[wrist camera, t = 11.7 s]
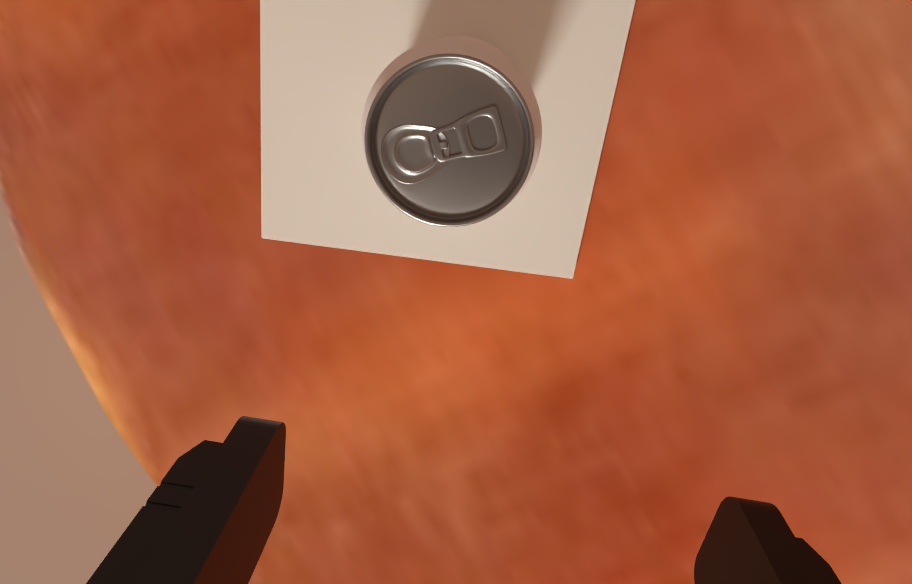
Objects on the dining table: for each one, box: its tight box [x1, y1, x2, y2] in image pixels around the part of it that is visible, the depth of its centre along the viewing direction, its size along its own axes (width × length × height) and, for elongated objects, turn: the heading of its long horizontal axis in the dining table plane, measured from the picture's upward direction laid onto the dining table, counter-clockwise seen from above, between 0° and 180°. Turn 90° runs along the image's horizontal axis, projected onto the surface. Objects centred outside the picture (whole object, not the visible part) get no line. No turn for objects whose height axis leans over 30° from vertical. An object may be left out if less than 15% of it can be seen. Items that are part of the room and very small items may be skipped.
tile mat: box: [260, 0, 636, 279], centre depth 30 cm, size 18×18×1 cm
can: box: [361, 36, 542, 227], centre depth 25 cm, size 6×6×12 cm
